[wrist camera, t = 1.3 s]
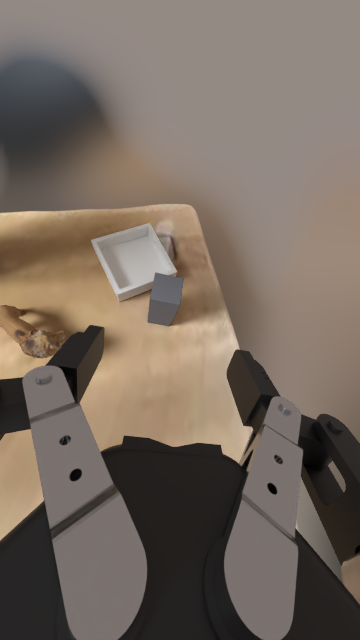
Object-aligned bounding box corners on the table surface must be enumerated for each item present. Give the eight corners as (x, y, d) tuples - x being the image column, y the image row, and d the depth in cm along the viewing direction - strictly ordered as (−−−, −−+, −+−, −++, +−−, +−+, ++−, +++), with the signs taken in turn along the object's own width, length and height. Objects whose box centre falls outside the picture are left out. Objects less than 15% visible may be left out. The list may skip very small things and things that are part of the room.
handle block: (147, 322, 40) (149, 299, 28) (151, 302, 41) (155, 272, 30) (169, 326, 40) (180, 305, 29) (172, 306, 42) (183, 278, 30)
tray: (119, 301, 40) (117, 294, 37) (94, 251, 42) (90, 239, 39) (174, 279, 44) (177, 271, 40) (149, 234, 46) (149, 222, 42)
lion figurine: (82, 342, 36) (64, 331, 28) (63, 369, 35) (37, 365, 26) (10, 303, 36) (-30, 279, 28) (-12, 327, 34) (-63, 310, 26)
